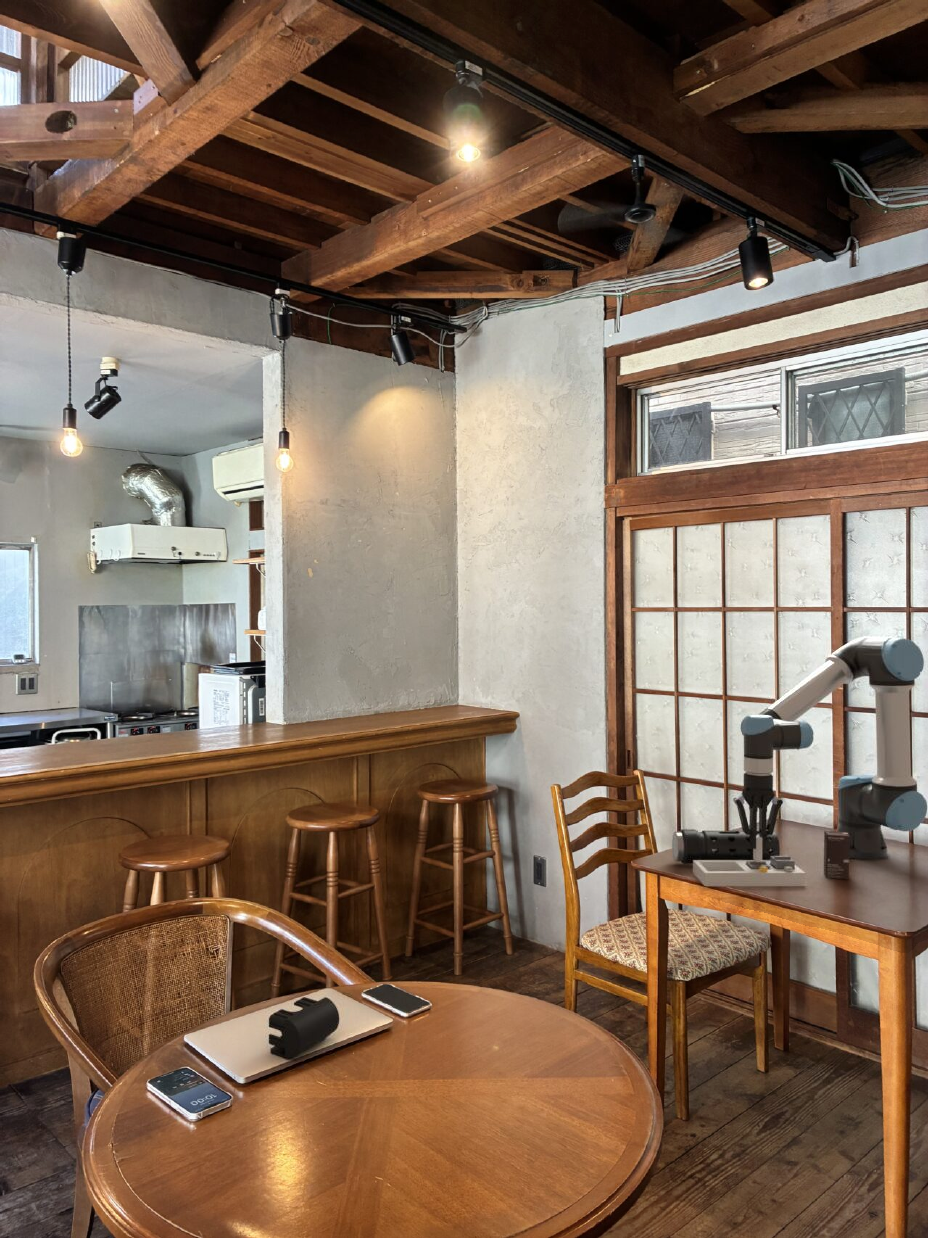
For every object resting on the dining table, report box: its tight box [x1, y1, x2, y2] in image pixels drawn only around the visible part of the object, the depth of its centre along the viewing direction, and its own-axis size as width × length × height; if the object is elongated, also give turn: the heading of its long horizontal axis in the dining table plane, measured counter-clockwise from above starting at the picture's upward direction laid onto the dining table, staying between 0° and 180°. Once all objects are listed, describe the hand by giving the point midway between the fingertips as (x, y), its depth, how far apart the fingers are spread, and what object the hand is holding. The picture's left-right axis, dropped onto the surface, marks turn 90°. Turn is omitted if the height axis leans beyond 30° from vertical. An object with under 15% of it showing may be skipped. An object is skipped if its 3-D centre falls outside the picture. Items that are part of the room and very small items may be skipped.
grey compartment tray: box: [692, 860, 807, 887], centre depth 241 cm, size 26×12×4 cm, turn 90°
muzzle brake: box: [671, 828, 781, 865], centre depth 254 cm, size 10×28×10 cm, turn 89°
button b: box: [746, 861, 770, 869], centre depth 241 cm, size 5×5×4 cm
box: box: [823, 830, 850, 880], centre depth 243 cm, size 6×4×12 cm
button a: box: [770, 855, 796, 869], centre depth 241 cm, size 5×5×4 cm
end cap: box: [268, 996, 340, 1060], centre depth 148 cm, size 10×7×7 cm
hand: (757, 860), depth 241 cm, fingers closed
